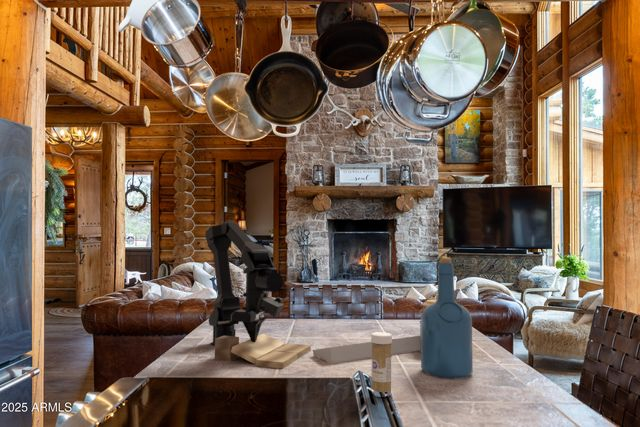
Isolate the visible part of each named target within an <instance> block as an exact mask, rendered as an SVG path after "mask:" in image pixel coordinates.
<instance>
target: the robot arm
mask: <svg viewBox="0 0 640 427" xmlns="http://www.w3.org/2000/svg"><path fill="white" fill-rule="evenodd" d="M204 237H205V240H206V246H207V247H208V249H209V250H210V251H211V253H212V255H213V263H214V264H213V265H214V273H215V274H214V275H215V284H216V291H217V295H216V299H215V300H214V303H213V310H212V311H211V314H210V315H209V316H208V324H209V326H212V328H213V329H212V341H211V342H210V343H209V344H210V345H214V346H215V339H216V338H219V337H222V336H235V337H236V329H235V325H239V324H240V323H242V324H243V326H244V327H245V329H246V332H247V334H248V337H249V339H251V341H252V342H256V340H257V337H258V336H259V333H260V330H261V326H262V324H263V323H264V322H265V321H266V320H267V319H268V318H269V317H267V316H265V315H264V314H269V316H272V317H276V316H280V315H281V311H282V310H284V308H285V307H284V301H283V298H281V297H276V298H275V299H274V298H269V294H268V293H269V292H270V293H277V292H279V291H280V290H281V289H282V287H283V284H284V280H283V276H282V275H281V274H280V273H279V272H278V268H276V267H275V264H274V262H273V260H272V258H271V255H270V252H269V249H267V248H266V247H265V246H263V245H262V244H258V243H256V242H254V241H253V240H252V239H251V238H250V236H249V235H247V233H245V232H244V230H243V229H242V228H241V227H240V224H239V223H237V222H235V221H234V222H230V221H224V222H223V223H220V224H217V225H213V226H210V227H209V228H208V229H207V230H206V231H205V235H204ZM232 244H234V246H235V247H236V249H237V250H239V252H240V253H241V254H240V259H241V261H242V262H243V264H244V266H245V267H246V268H245V269H243V274H246V277H245V292H243V293H242V297H245V304H244V305H243V306H242V308H241V304H240V297H239V296H235V294H234V293H233V285H232V276H231V275H232V274H231V267H230V259H229V249H230V247H231V245H232Z"/></svg>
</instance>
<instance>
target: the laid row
mask: <svg viewBox="0 0 640 427" xmlns="http://www.w3.org/2000/svg"><path fill="white" fill-rule="evenodd" d="M284 344H285V345H283V346H281V347H279V348H277V349H275V350H273V351H272V352H270V353H268V354H266V355H264V356H262V357H260V358H258V359H256V364H255V366H257V367H265V368H274V369H275V368H276V369H285V368H286V367H288V366H290V365H291V364H292V363H293V362H295V361H297V360H299V359H300V358H301V357H303V356H305V355H306V354H307V353H309V352H311V347H312V345H311V344H310V345H309V344H301V343H300V344H299V343H289V342H288V343H284Z"/></svg>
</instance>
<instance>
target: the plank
mask: <svg viewBox="0 0 640 427" xmlns="http://www.w3.org/2000/svg"><path fill="white" fill-rule="evenodd" d="M285 344H286V343H284V342H282V341H280V340H278V339H276V338H274V337H271V336H269V335H268V334H266V333H261V334H258V337H257V340H256V342H252V341H251V339H250V338H249V339H247V340H245V341H242V342H241V343H240V342H239V344H238V345H235V346H233V347H232V350H231V352H232V353H234V354H236V355H238V356H239V357H241V358H242V359H244V360H246V361H248V362H250V363H252V364H254V365H256V359H258V358H260V357H262V356H264V355H266V354H268V353H270V352H272V351H273V350H275V349H277V348H279V347H281V346H283V345H285Z"/></svg>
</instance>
